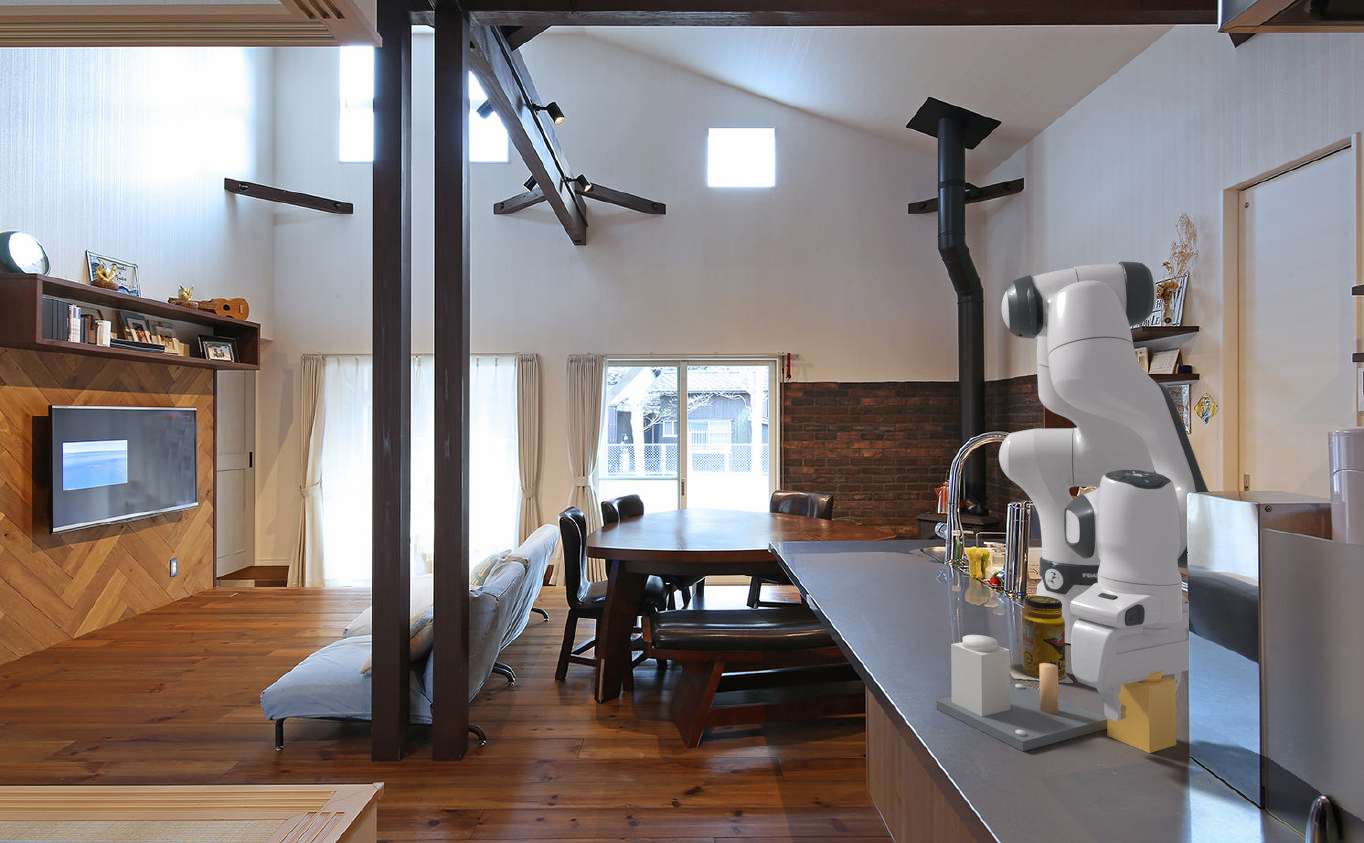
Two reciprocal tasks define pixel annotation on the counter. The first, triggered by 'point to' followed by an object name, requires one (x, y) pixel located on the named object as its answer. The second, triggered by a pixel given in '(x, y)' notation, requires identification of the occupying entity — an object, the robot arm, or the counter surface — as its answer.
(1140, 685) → the yellow knob block
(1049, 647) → the condiment
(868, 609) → the counter surface
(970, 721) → the plate
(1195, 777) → the counter surface
